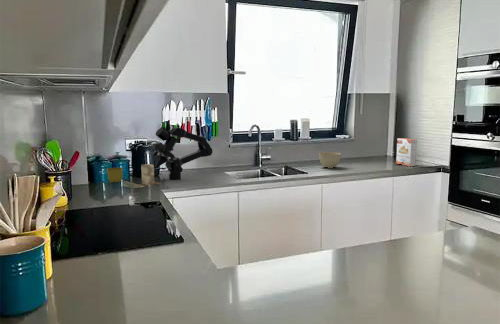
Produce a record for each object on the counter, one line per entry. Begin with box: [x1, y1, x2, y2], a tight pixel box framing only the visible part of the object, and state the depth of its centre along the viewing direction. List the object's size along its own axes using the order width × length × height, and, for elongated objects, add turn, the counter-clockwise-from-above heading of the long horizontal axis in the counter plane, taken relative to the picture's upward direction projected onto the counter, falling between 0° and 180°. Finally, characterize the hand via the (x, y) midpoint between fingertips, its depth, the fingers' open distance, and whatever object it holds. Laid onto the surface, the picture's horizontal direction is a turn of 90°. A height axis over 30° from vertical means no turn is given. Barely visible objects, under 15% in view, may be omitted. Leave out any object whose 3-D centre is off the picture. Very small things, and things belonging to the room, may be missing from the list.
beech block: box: [140, 163, 155, 186], centre depth 223 cm, size 5×5×11 cm
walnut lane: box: [122, 180, 162, 189], centre depth 221 cm, size 19×10×4 cm, turn 138°
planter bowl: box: [318, 151, 342, 169], centre depth 290 cm, size 16×16×11 cm
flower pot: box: [106, 167, 123, 184], centre depth 233 cm, size 9×9×9 cm
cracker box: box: [395, 137, 418, 167], centre depth 297 cm, size 14×6×21 cm, turn 25°
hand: (156, 167), depth 228 cm, fingers closed
